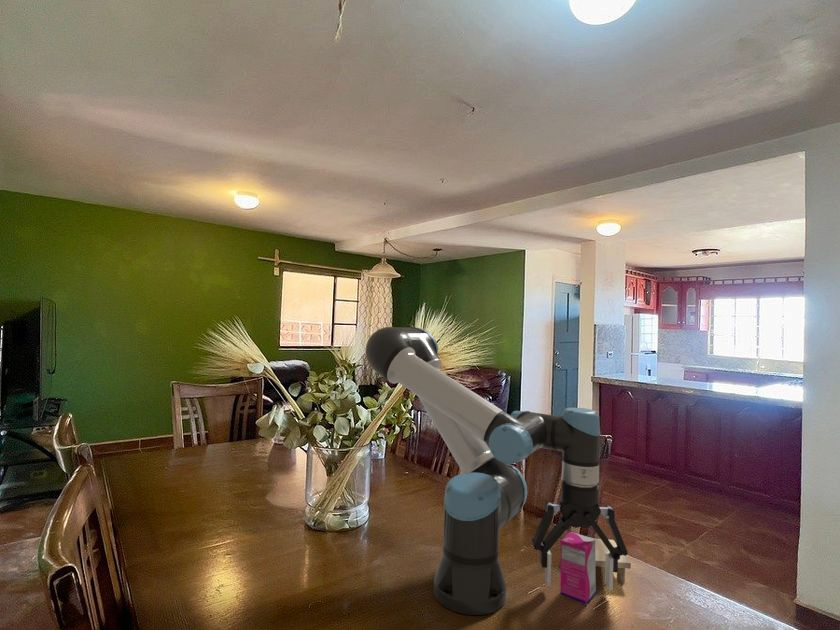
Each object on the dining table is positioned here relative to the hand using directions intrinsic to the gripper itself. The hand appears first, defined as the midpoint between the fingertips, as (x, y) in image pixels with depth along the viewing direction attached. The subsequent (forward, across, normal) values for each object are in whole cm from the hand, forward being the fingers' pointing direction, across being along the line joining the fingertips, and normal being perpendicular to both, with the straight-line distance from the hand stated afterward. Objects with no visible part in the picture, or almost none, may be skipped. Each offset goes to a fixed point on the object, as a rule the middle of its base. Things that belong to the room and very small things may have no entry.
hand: (578, 584), depth 96 cm
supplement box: (+2, 0, 0) cm, 2 cm away
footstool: (+2, +7, +10) cm, 12 cm away
